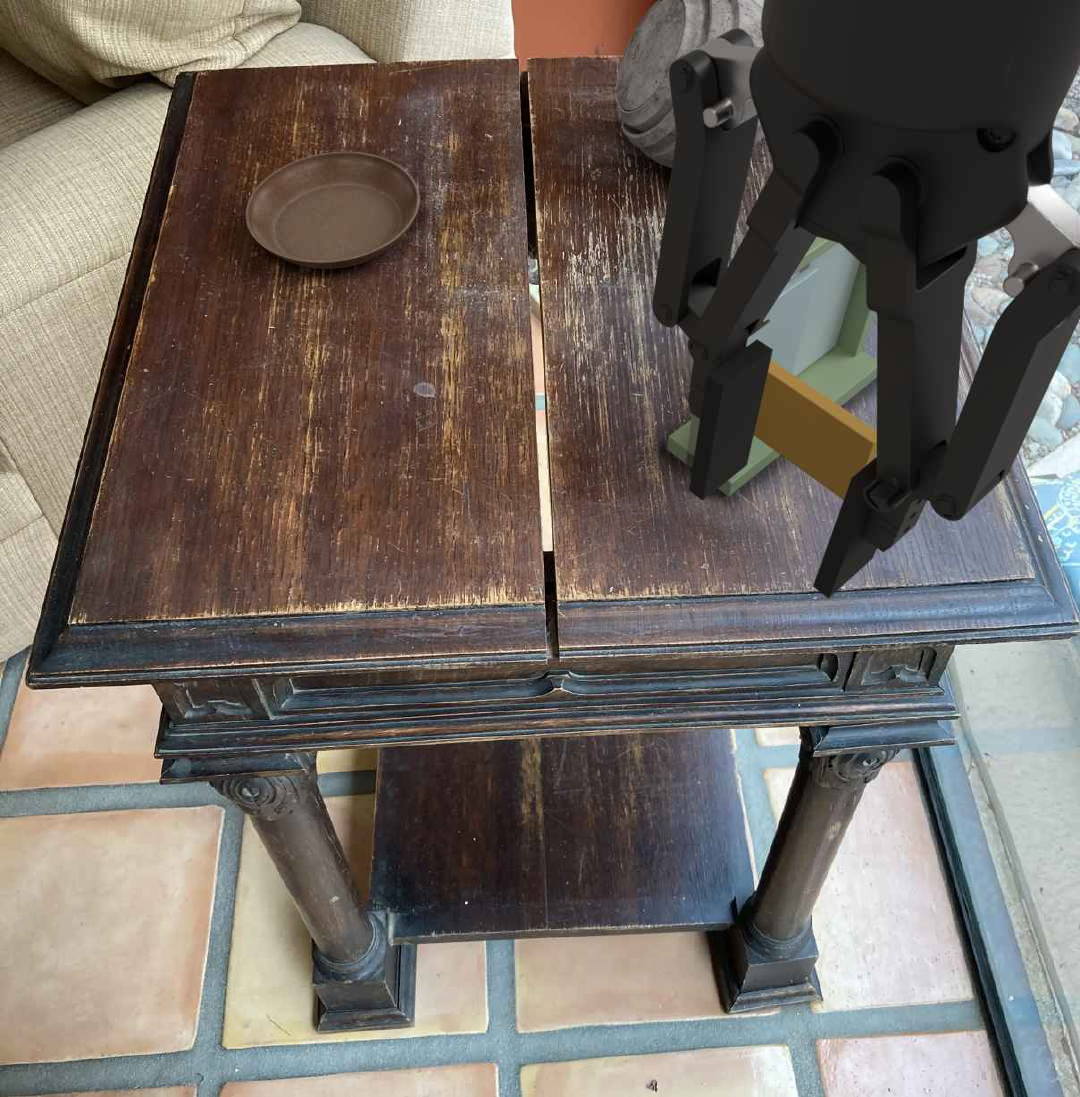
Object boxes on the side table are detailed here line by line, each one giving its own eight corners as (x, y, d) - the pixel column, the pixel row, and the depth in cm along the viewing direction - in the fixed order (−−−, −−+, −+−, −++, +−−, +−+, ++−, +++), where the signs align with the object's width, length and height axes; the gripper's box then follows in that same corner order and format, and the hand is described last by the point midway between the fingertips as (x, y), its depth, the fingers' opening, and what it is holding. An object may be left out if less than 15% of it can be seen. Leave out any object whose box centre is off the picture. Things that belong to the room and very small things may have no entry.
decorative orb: (601, 116, 100) (607, -47, 88) (749, 104, 101) (776, -59, 89) (627, 212, 92) (637, 47, 80) (788, 198, 93) (823, 32, 81)
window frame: (877, 377, 80) (941, 192, 67) (728, 497, 74) (766, 319, 60) (815, 337, 83) (865, 151, 69) (666, 449, 76) (689, 269, 63)
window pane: (897, 485, 72) (953, 350, 61) (836, 538, 69) (884, 407, 59) (778, 402, 76) (811, 264, 66) (716, 449, 74) (742, 313, 63)
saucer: (295, 309, 85) (287, 283, 83) (226, 213, 93) (218, 187, 91) (453, 245, 90) (450, 219, 88) (376, 158, 97) (371, 132, 95)
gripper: (538, -197, 25) (548, 442, 44) (1315, 134, 17) (917, 743, 36) (746, -277, 28) (671, 355, 47) (1496, -28, 20) (1039, 615, 39)
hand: (778, 522), depth 41 cm, fingers open, 6 cm apart
